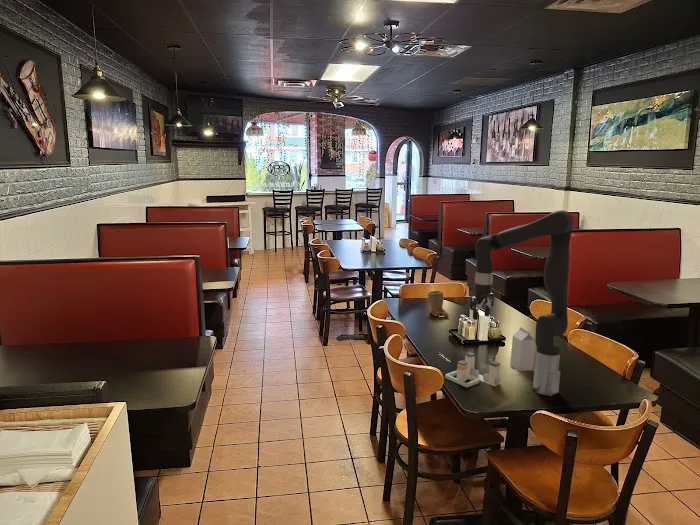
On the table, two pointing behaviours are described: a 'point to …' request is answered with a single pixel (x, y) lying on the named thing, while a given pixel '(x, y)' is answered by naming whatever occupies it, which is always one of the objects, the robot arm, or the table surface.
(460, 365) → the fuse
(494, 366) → the block
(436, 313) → the brown boot
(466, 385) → the tray
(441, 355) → the butter knife
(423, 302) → the table surface
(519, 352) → the milk carton
